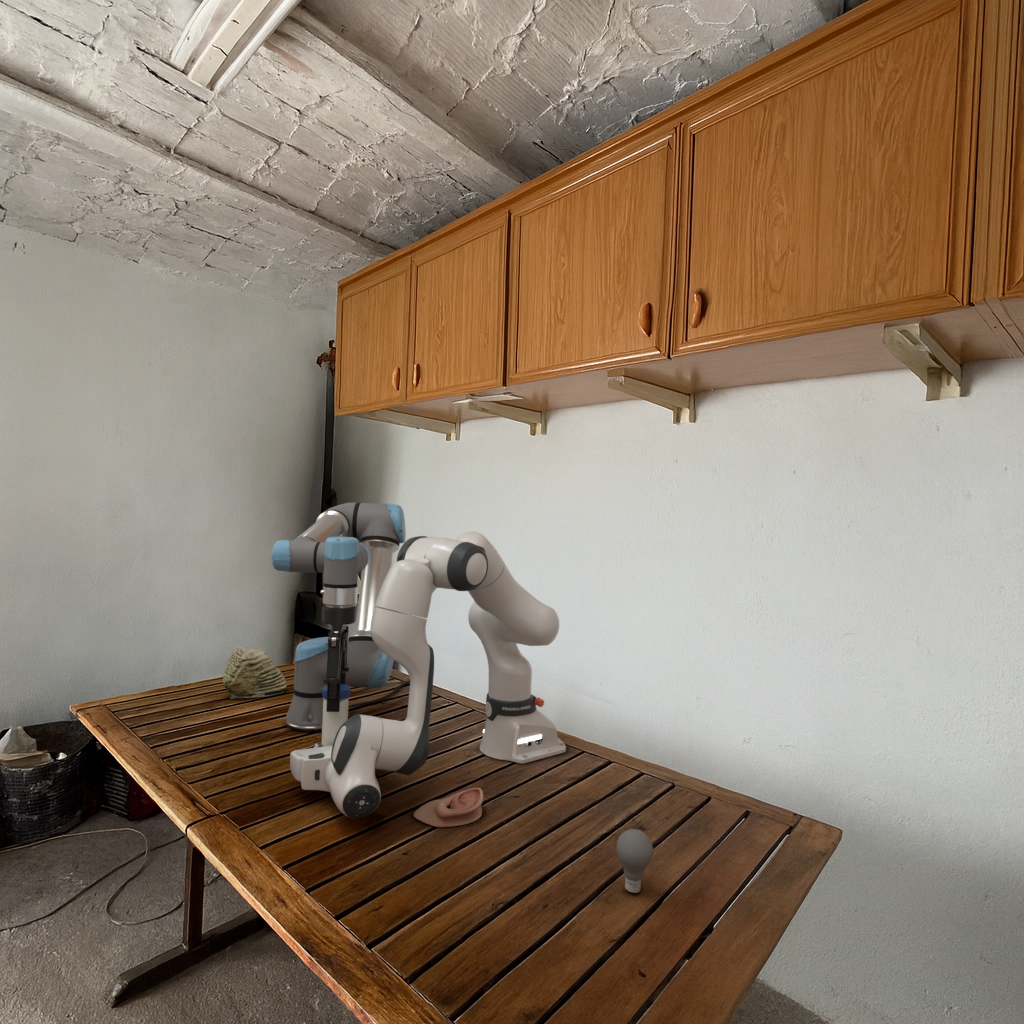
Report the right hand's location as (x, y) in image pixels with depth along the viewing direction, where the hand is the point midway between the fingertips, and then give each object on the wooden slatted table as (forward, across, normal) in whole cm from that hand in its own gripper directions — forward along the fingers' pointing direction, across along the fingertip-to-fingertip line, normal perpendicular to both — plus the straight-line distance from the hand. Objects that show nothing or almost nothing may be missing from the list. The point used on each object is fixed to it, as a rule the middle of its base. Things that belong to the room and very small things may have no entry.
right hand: (333, 744), depth 145 cm
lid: (-1, 0, -13) cm, 13 cm away
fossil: (+65, +12, +7) cm, 66 cm away
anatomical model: (-27, -18, +7) cm, 34 cm away
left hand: (-1, 0, -9) cm, 9 cm away
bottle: (-1, 0, +7) cm, 7 cm away
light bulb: (-62, -38, +7) cm, 73 cm away
